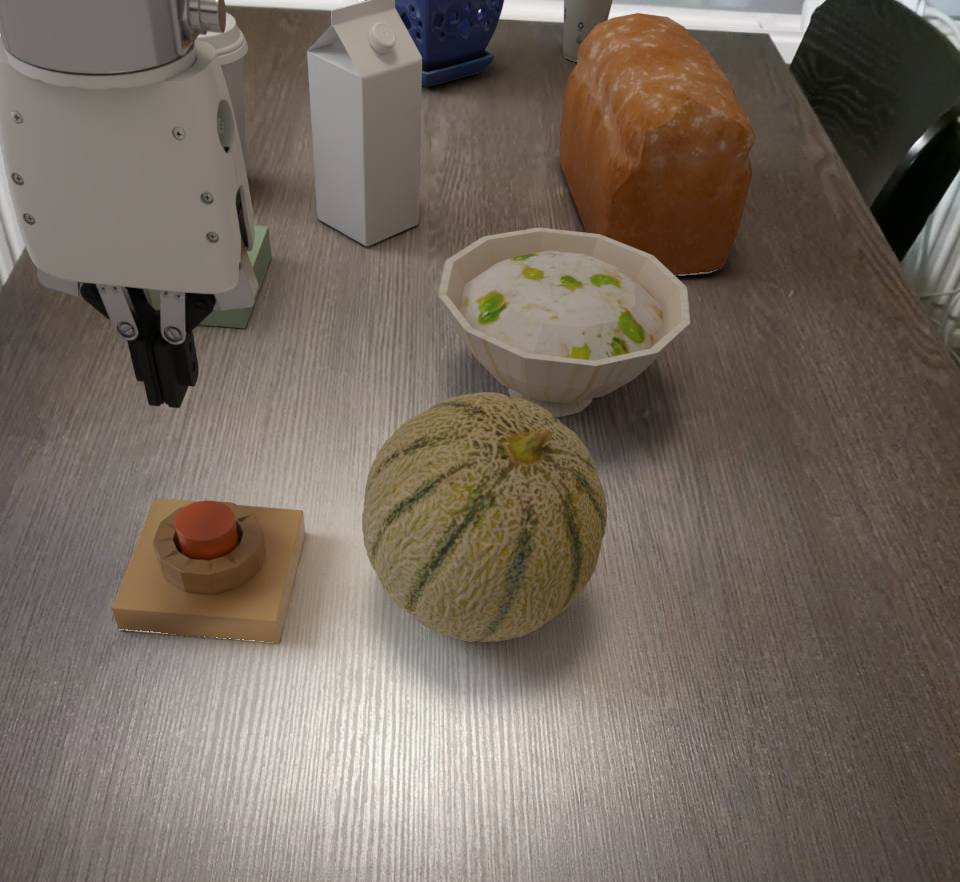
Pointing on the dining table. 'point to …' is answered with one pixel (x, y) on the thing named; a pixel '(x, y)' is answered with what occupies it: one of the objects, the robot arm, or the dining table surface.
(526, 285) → the bowl
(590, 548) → the cantaloupe
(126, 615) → the tan square stand
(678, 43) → the bread
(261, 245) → the plate
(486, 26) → the flower pot
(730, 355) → the dining table surface
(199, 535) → the bell button
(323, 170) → the milk carton
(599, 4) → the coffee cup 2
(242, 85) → the coffee cup
